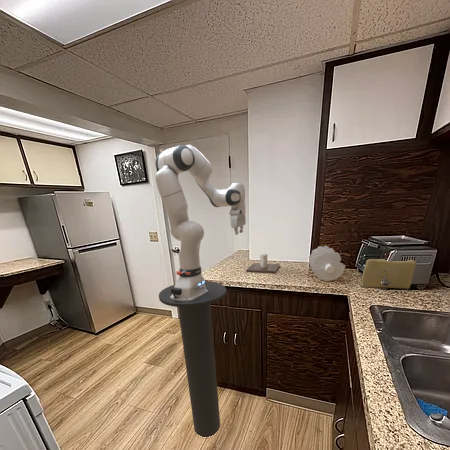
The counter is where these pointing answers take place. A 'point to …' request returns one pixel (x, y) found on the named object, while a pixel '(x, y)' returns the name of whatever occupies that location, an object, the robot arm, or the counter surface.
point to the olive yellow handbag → (388, 273)
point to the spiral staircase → (326, 263)
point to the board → (269, 269)
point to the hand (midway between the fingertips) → (239, 233)
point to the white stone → (263, 260)
